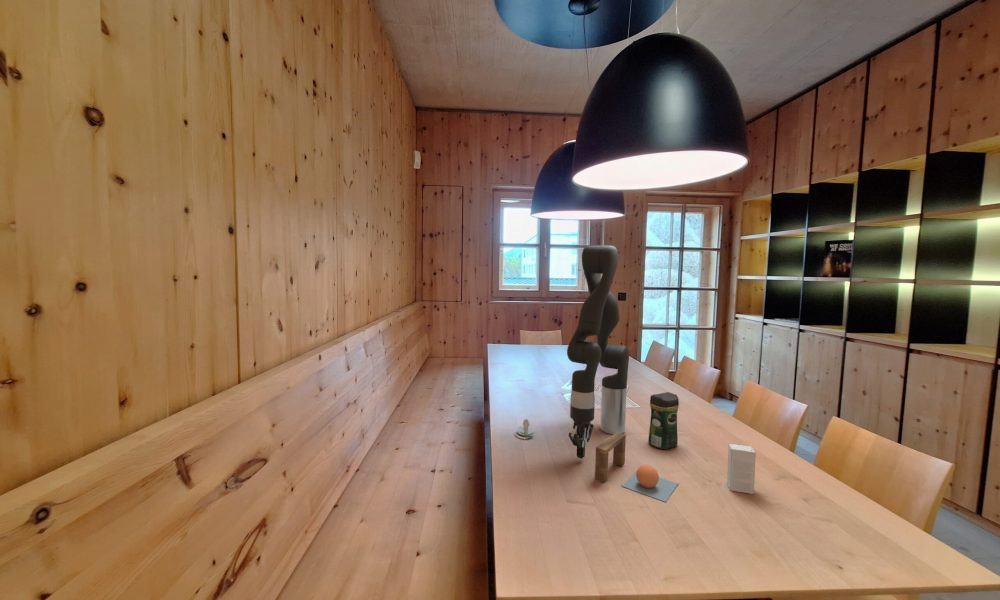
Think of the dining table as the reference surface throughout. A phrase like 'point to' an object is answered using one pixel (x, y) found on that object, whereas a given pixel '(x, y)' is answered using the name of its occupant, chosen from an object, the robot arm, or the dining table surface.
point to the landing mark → (658, 491)
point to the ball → (647, 476)
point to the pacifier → (525, 428)
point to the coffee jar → (663, 420)
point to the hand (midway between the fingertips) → (580, 457)
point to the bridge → (602, 455)
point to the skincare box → (741, 468)
